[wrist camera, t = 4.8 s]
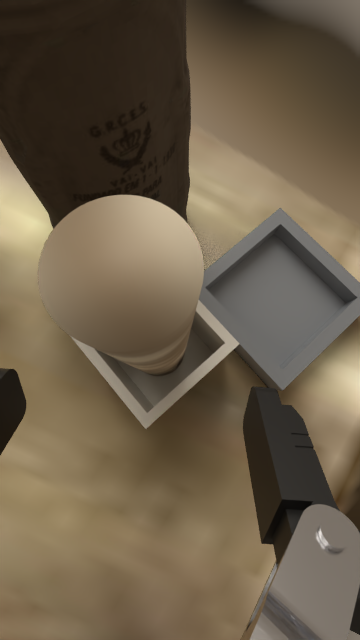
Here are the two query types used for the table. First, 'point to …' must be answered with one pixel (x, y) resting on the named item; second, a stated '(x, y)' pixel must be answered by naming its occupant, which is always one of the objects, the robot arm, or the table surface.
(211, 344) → the light grey square box
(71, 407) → the table surface
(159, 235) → the birch pin
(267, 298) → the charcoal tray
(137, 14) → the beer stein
